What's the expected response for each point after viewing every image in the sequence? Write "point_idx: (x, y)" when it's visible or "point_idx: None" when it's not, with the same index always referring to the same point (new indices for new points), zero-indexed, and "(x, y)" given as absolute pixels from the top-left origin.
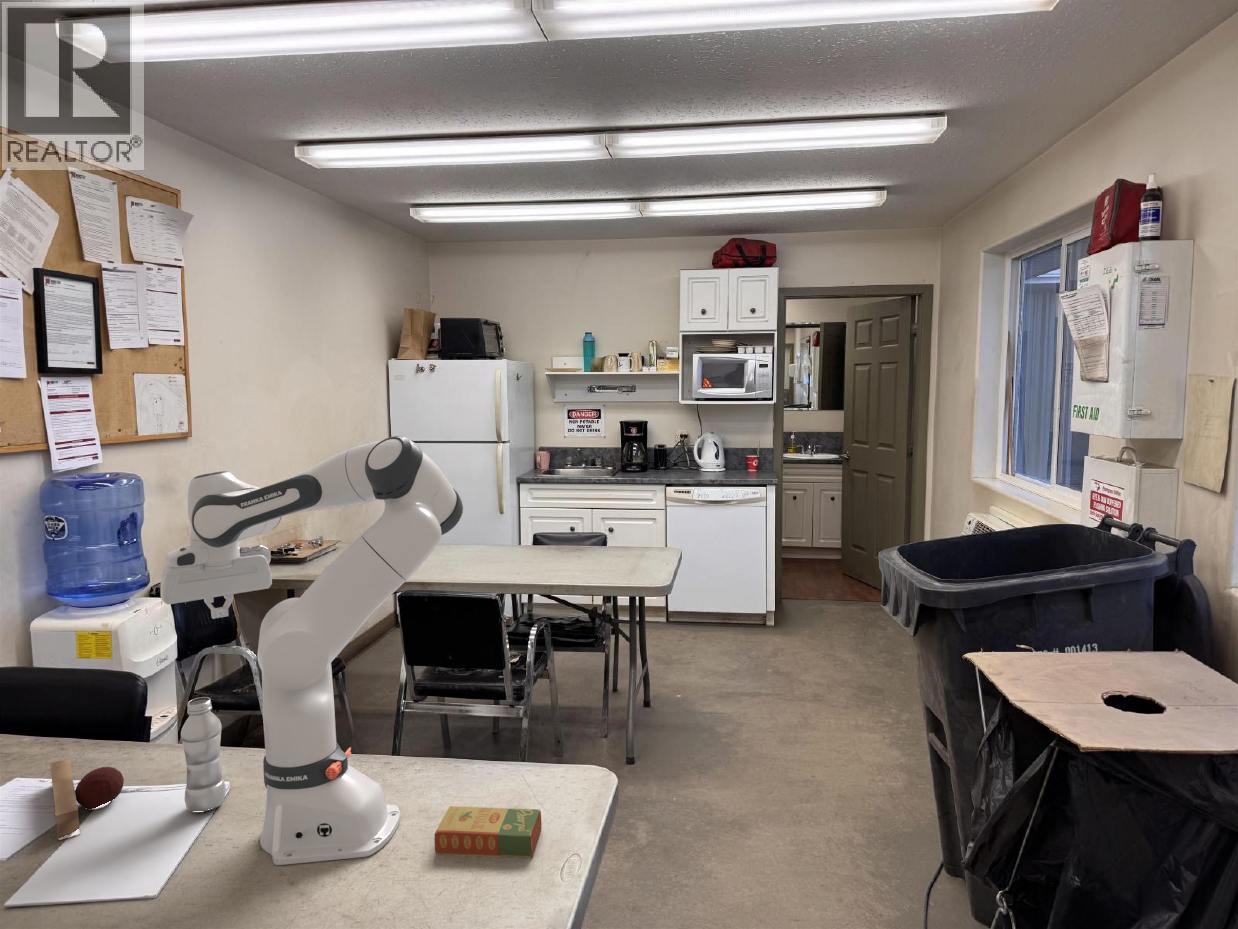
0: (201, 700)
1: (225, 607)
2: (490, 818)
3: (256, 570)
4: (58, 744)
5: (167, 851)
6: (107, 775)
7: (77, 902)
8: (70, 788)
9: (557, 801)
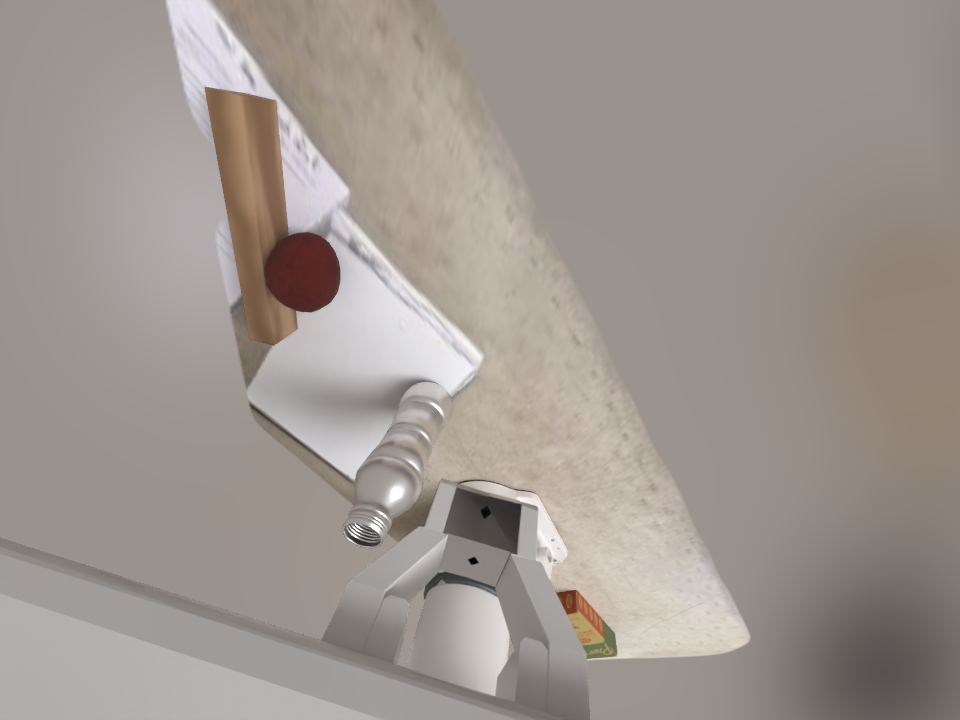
0: (372, 522)
1: (498, 598)
2: (579, 639)
3: None
4: None
5: (374, 436)
6: (300, 306)
7: (299, 441)
8: (257, 265)
9: (665, 633)
